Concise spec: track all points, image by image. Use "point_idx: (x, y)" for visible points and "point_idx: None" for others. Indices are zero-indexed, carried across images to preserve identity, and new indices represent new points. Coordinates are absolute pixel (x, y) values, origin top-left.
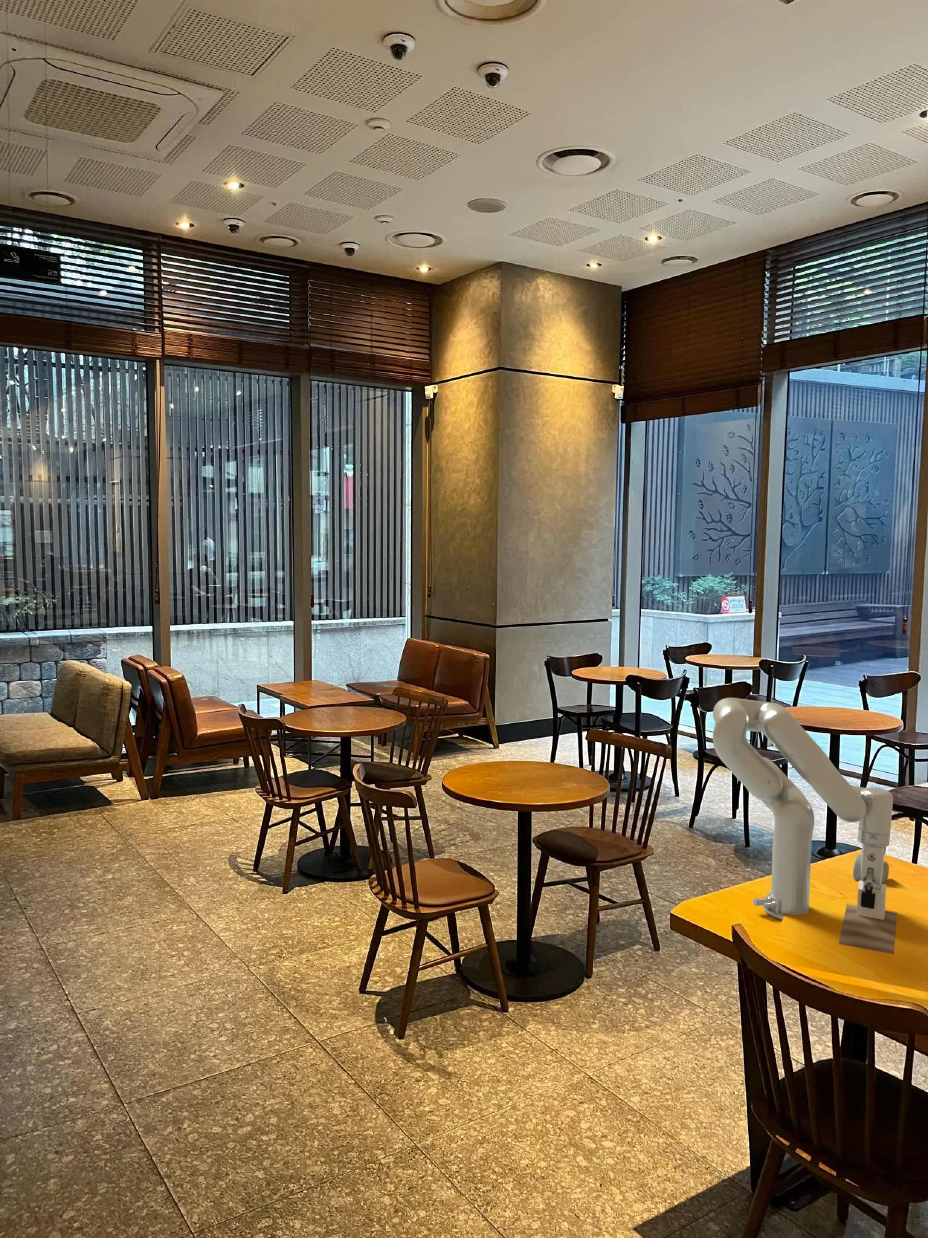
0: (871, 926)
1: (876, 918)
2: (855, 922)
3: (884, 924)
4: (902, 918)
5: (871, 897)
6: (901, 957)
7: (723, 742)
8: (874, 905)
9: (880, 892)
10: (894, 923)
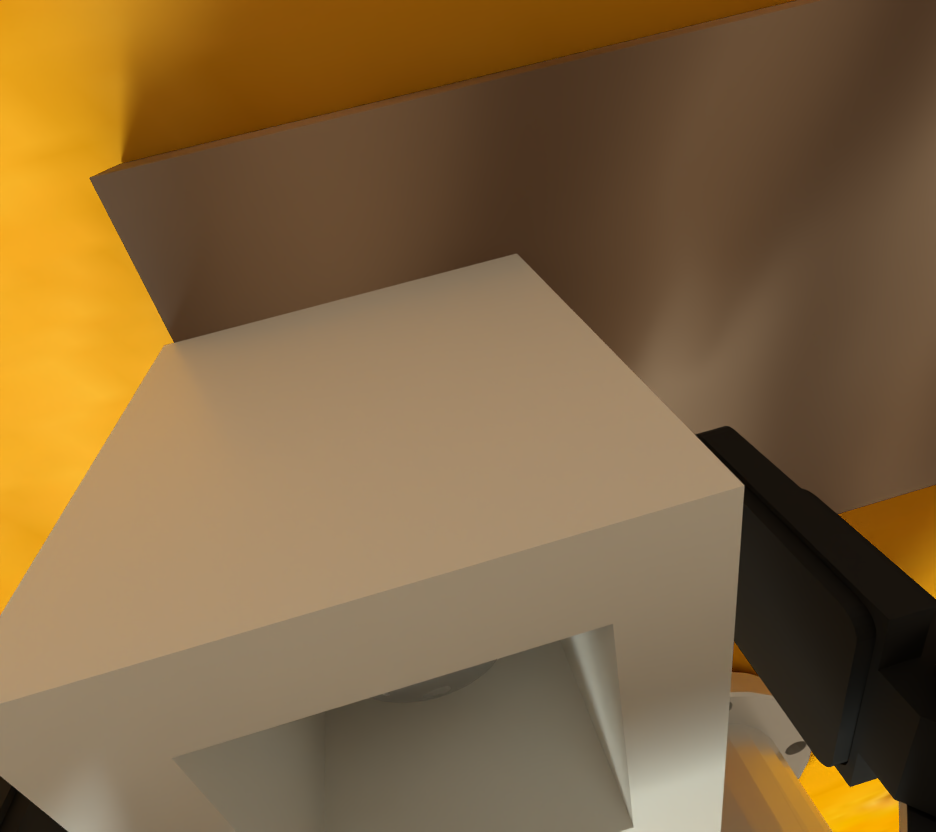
0: (799, 308)
1: None
2: None
3: (680, 200)
4: (26, 81)
5: (916, 587)
6: None
7: None
8: (730, 453)
9: (733, 584)
10: (575, 84)
